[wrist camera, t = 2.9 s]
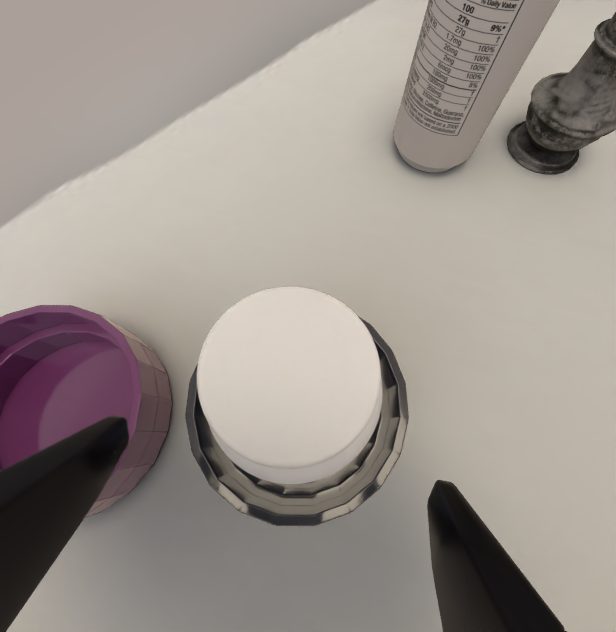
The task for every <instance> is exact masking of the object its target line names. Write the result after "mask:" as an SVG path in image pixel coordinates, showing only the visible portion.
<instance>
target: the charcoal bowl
mask: <svg viewBox="0 0 616 632" xmlns="http://www.w3.org/2000/svg"><path fill="white" fill-rule="evenodd" d="M359 318H360V317H359ZM360 320H361V321H362V322H363V323H364V325H365V326H366V328H367V329H368V331H369V332H370V334H371V336H372V338H373V341H374V343H375V346H376V349H377V352H378V356H379V361H380V370H381V379H382V406H381V411H380V416H379V419H378V422H377V425H376V427H375V430H374V432H373V434H372V436H371V438H370V439H369V441H368V443H367V444H366V446H365V447H364V448H363V450H362V451H361V452H360V453H359V454H358V456H357V457H356V458H355V459H354V460H353V461H352V462H350V463H349V464H348V465H347V466H346V467H344V468H343V469H341V470H339V471H338V472H336V473H334V474H333V475H330V476H328V477H326V478H323V479H320V480H317V481H313V482H309V483H303V484H278V483H273V482H269V481H265V480H262V479H260V478H257V477H255V476H253V475H251V474H249V473H247V472H246V471H244V470H243V469H241V468H240V467H239V466H237V465H236V464H235V463H234V462H233V461H232V460H231V459H230V458H229V457H228V456H227V455H226V454H225V453H224V451H223V450H222V449H221V447H220V446H219V444H218V443H217V441H216V440H215V438H214V436H213V434H212V432H211V429H210V427H209V424H208V421H207V419H206V417H205V415H204V413H203V410H202V407H201V404H200V400H199V396H198V389H197V367H198V364H197V366H196V368H195V371H194V373H193V375H192V377H191V380H190V384H189V392H188V400H187V407H186V423H187V428H188V434H189V439H190V445H191V450H192V452H193V453H192V454H193V456H194V457H195V459H196V461H197V463H198V465H199V466H200V468H201V470H202V472H203V474H204V476H205V477H206V479H207V481H208V483H209V485H211V487H212V488H213V489H214V490H215V491H217V492H218V493H219V494H220V495H221V496H222V497H223V498H224V499H225V500H227V501H228V502H229V503H230V504H231V505H232V506H233V507H234V508H236V509H237V510H238V511H240V512H242V513H244V514H247V515H249V516H252V517H254V518H257V519H259V520H262V521H265V522H267V523H270V524H272V525H276V526H316V525H319V524H321V523H324V522H327V521H330V520H332V519H335V518H338V517H341V516H343V515H346V514H349V513H350V512H352V511H354V510H355V509H356V508H357V507H358V506H360V505H361V504H362V503H363V502H364V501H366V500H367V499H368V498H369V497H370V496H372V495H373V494H374V493H375V492H376V491H377V490H379V489H380V487H382V485H383V483H384V482H385V480H386V478H387V477H388V475H389V473H390V472H391V470H392V468H393V467H394V465H395V463H396V462H397V460H398V458H399V457H400V454H401V450H402V446H403V441H404V437H405V433H406V428H407V424H408V406H407V394H406V384H405V380H404V378H403V375H402V373H401V371H400V368H399V366H398V363H397V361H396V358H395V356H394V354H393V351H392V350H391V349H390V347H389V346H388V345H387V344H386V342H385V341H384V340H383V339H382V338H381V336H380V335H379V334H378V333H377V331H376V330H375V329H374V328H373V327H372V326H371V325H370V324H369V323H367V322H366V321H364V320H363V319H361V318H360Z"/></svg>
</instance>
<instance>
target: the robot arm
mask: <svg viewBox="0 0 616 632" xmlns="http://www.w3.org/2000/svg"><path fill="white" fill-rule="evenodd" d="M128 443H129V430H128V423H127V419H126V418H125V417H121V416H116V415H111V416H108V417H106V418H104V419H102V420H100V421H98V422H96V423H94V424H92V425H90V426H88V427H86V428H84V429H82V430H80V431H78V432H76V433H74V434H72V435H70V436H68V437H66V438H64V439H62V440H60V441H58V442H56V443H55V444H53V445H51V446H49V447H47V448H45V449H43V450H41V451H39V452H37V453H35V454H33V455H31V456H29V457H27V458H25V459H23V460H21V461H19V462H17V463H15V464H13V465H11V466H9V467H7V468H5V469H3V470H1V471H0V632H6V631H7V629H8V628H9V626H10V625H11V624H12V622H13V621H14V619H15V618H16V616H17V615H18V613H19V612H20V610H21V609H22V608H23V606H24V605H25V603H26V602H27V600H28V599H29V597H30V596H31V595H32V593H33V592H34V590H35V589H36V587H37V586H38V584H39V583H40V581H41V580H42V579H43V577H44V576H45V574H46V573H47V571H48V570H49V568H50V567H51V566H52V564H53V563H54V561H55V560H56V558H57V557H58V555H59V554H60V552H61V551H62V550H63V548H64V547H65V545H66V544H67V542H68V541H69V539H70V538H71V537H72V535H73V534H74V532H75V531H76V529H77V528H78V526H79V525H80V523H81V522H82V521H83V519H84V518H85V516H86V515H87V513H88V512H89V510H90V509H91V508H92V506H93V505H94V503H95V502H96V500H97V499H98V497H99V495H100V494H101V492H102V490H103V489H104V487H105V485H106V483H107V482H108V480H109V478H110V476H111V474H112V473H113V471H114V469H115V467H116V466H117V464H118V462H119V460H120V458H121V457H122V455H123V453H124V451H125V449H126V448H127V446H128ZM427 508H428V521H429V534H430V547H431V560H432V570H433V576H434V582H435V588H436V594H437V599H438V605H439V611H440V616H441V622H442V627H443V632H567V631H564V627H563V625H562V624H561V623H560V621H559V620H558V619H557V617H556V616H555V615H554V614H553V612H552V611H551V610H550V608H549V607H548V606H547V604H546V603H545V602H544V601H543V599H542V598H541V597H540V595H539V594H538V593H537V591H536V590H535V589H534V588H533V586H532V585H531V584H530V582H529V581H528V580H527V578H526V577H525V576H524V575H523V573H522V572H521V571H520V569H519V568H518V567H517V565H516V564H515V563H514V562H513V560H512V559H511V558H510V556H509V555H508V554H507V552H506V551H505V550H504V548H503V547H502V546H501V545H500V543H499V542H498V541H497V539H496V538H495V537H494V535H493V534H492V533H491V532H490V530H489V529H488V528H487V526H486V525H485V524H484V522H483V521H482V520H481V519H480V517H479V516H478V515H477V513H476V512H475V511H474V509H473V508H472V507H471V506H470V504H469V503H468V502H467V500H466V499H465V498H464V496H463V495H462V494H461V493H460V491H459V490H458V489H457V487H456V486H455V485H454V484H453V483H451V482H447V481H442V480H437V481H436V482H435V484H434V487H433V489H432V491H431V494H430V496H429V499H428V505H427Z"/></svg>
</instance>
